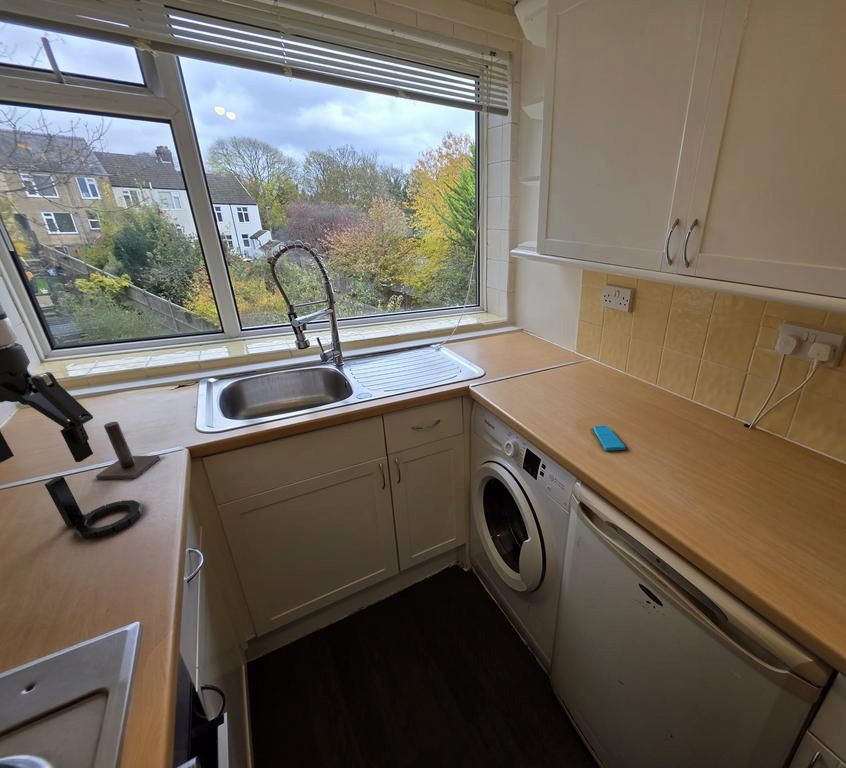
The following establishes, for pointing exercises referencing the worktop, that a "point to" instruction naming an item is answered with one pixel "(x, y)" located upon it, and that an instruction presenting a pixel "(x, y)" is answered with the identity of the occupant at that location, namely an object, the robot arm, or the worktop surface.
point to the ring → (75, 517)
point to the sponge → (608, 438)
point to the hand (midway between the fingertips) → (44, 459)
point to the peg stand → (124, 457)
